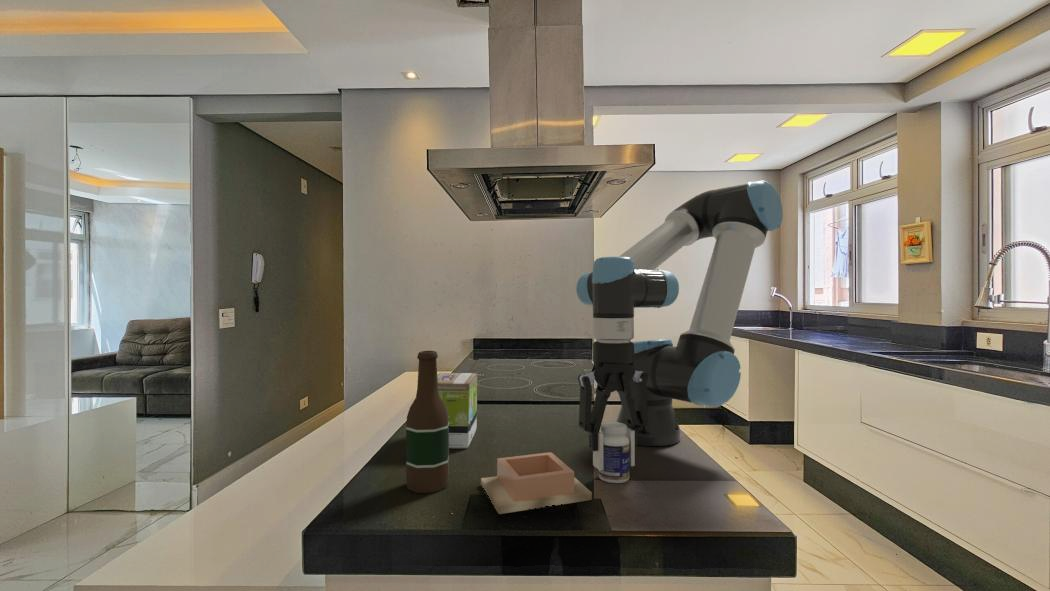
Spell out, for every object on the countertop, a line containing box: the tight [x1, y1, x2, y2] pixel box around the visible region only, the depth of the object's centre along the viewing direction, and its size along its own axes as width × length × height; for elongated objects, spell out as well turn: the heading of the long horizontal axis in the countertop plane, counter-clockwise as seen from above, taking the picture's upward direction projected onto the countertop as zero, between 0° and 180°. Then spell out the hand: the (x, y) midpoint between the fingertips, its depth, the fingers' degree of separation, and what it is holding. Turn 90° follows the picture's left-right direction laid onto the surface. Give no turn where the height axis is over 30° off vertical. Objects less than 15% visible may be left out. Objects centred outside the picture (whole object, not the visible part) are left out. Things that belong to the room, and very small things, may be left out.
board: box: [480, 475, 593, 515], centre depth 82 cm, size 16×12×1 cm
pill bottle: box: [597, 421, 630, 484], centre depth 88 cm, size 6×6×10 cm
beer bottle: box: [405, 350, 450, 494], centre depth 85 cm, size 8×8×24 cm
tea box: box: [437, 372, 478, 449], centre depth 113 cm, size 15×10×15 cm, turn 179°
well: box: [496, 452, 575, 502], centre depth 82 cm, size 10×10×4 cm
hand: (613, 465), depth 88 cm, fingers closed on pill bottle, 6 cm apart
